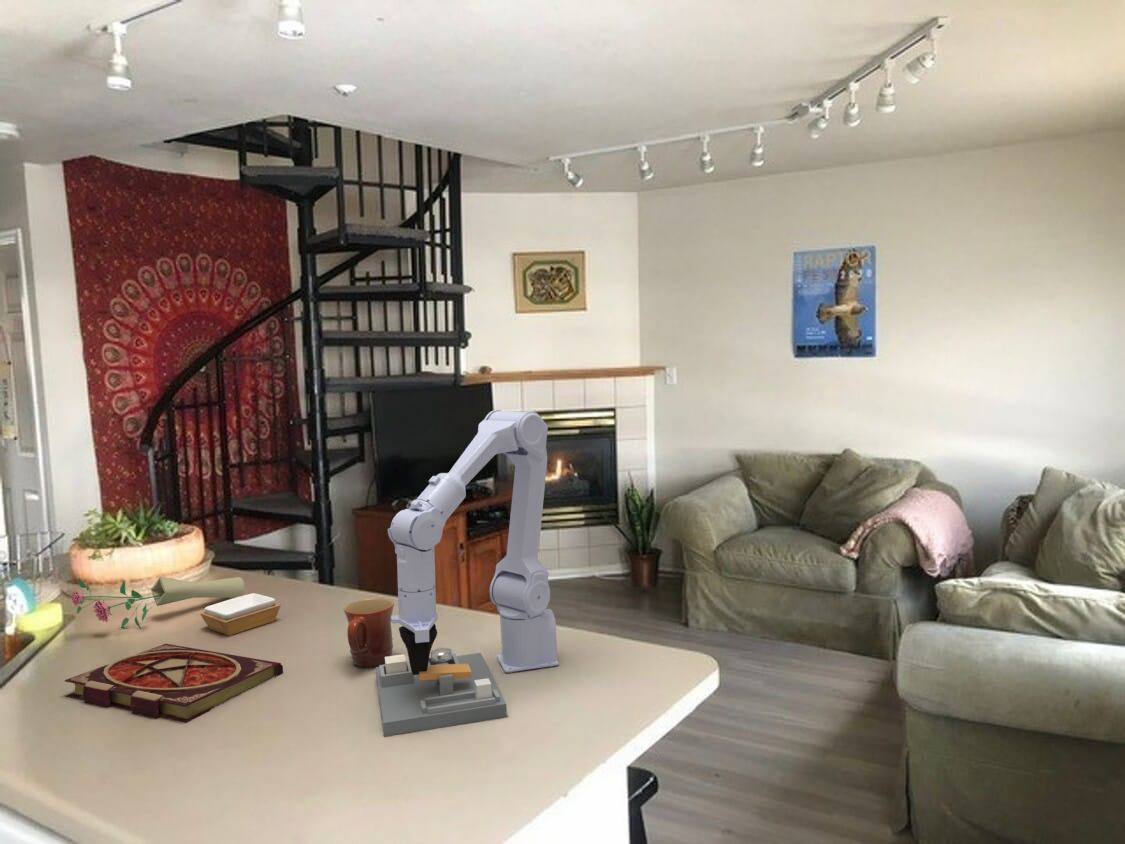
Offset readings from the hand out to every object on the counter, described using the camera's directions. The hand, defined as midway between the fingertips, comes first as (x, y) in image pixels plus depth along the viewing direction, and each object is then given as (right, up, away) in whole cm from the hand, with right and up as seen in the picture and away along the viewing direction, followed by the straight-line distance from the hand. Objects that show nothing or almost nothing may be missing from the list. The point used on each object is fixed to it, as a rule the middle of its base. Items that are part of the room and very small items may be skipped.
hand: (419, 673), depth 130 cm
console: (+2, -5, +3) cm, 6 cm away
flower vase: (-62, -3, +49) cm, 79 cm away
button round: (+2, -1, +8) cm, 9 cm away
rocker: (+4, -1, +1) cm, 4 cm away
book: (-44, -7, +12) cm, 46 cm away
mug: (-12, -4, +18) cm, 22 cm away
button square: (-5, -1, +6) cm, 7 cm away
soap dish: (-44, -3, +42) cm, 61 cm away
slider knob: (+10, -3, -4) cm, 11 cm away
